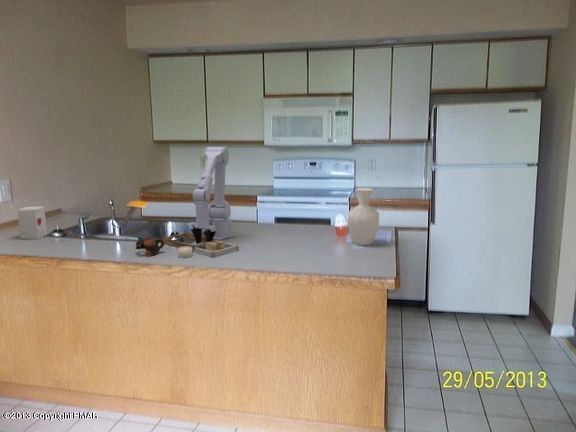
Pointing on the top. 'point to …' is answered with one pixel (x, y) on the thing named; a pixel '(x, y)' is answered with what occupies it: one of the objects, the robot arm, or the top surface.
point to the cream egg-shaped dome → (185, 252)
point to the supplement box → (32, 222)
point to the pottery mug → (150, 245)
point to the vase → (363, 219)
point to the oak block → (215, 245)
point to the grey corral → (227, 249)
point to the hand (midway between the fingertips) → (204, 244)
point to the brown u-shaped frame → (180, 244)
